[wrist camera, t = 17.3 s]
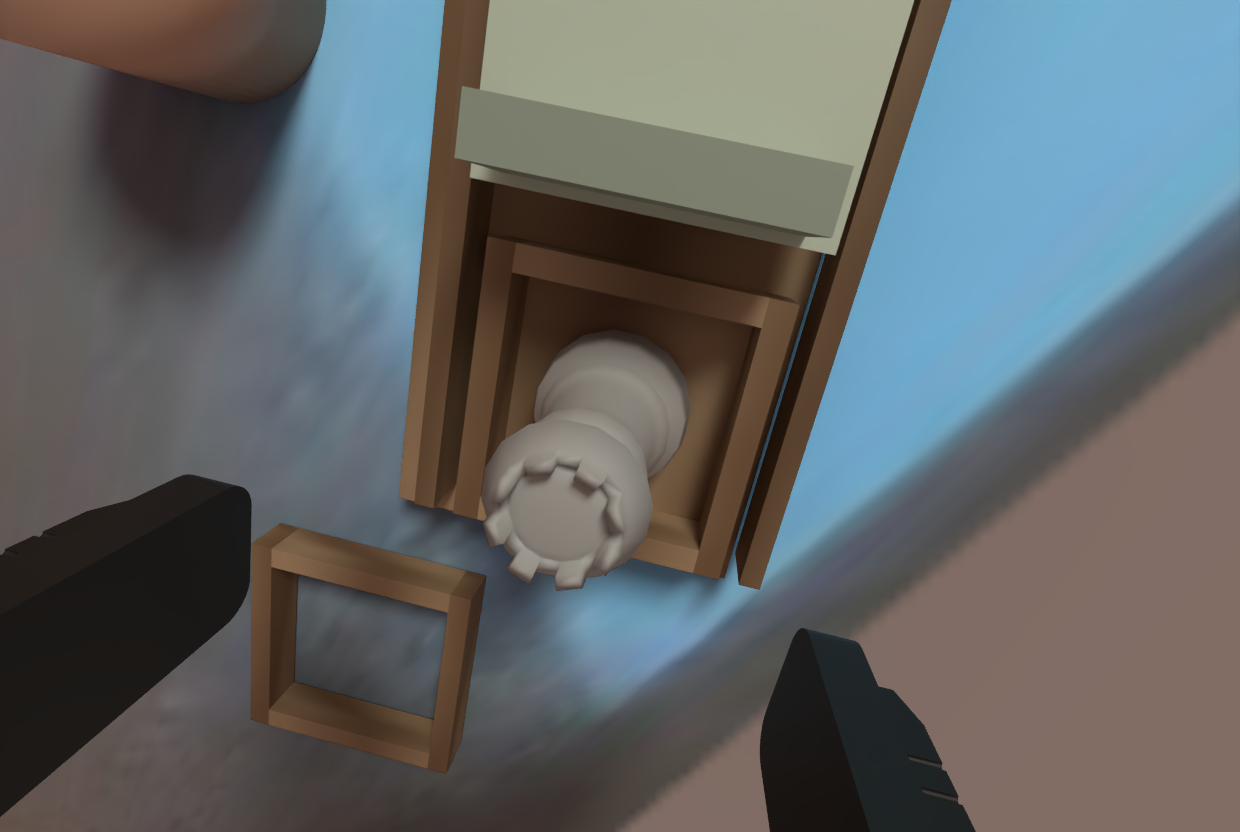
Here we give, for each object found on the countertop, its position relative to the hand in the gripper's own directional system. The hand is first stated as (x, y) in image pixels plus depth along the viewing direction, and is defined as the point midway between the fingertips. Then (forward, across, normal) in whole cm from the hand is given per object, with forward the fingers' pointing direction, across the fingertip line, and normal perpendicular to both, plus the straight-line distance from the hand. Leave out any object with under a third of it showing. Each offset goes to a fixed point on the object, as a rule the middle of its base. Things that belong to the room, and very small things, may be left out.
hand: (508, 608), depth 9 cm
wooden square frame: (+11, +7, +12) cm, 18 cm away
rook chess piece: (+10, 0, 0) cm, 10 cm away
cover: (+8, 0, -10) cm, 13 cm away
